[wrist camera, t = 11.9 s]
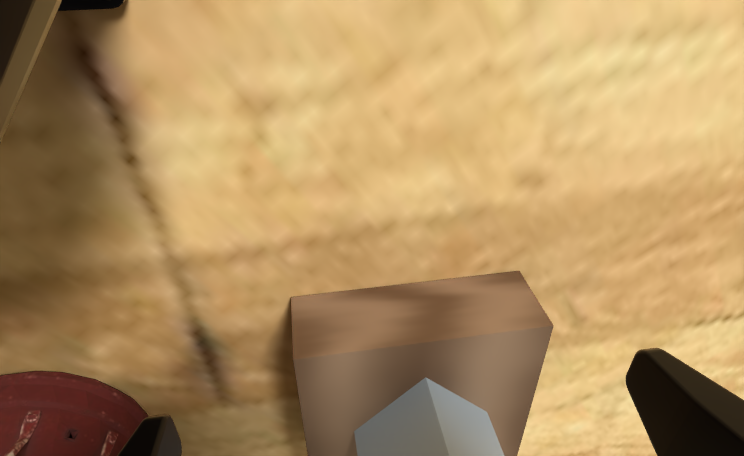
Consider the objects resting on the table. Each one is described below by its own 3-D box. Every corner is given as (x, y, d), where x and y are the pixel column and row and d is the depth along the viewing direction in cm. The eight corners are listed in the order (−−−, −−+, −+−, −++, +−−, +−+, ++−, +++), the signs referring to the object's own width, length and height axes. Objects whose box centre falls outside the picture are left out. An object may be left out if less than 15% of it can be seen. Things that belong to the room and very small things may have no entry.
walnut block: (310, 435, 32) (314, 498, 28) (291, 297, 25) (293, 359, 22) (490, 409, 33) (514, 466, 30) (519, 270, 26) (553, 325, 23)
